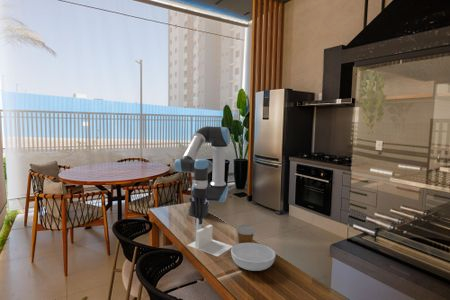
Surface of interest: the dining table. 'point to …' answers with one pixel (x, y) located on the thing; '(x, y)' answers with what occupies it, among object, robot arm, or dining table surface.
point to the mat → (213, 247)
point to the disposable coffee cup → (245, 234)
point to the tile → (203, 236)
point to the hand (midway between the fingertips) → (198, 229)
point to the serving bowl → (253, 256)
